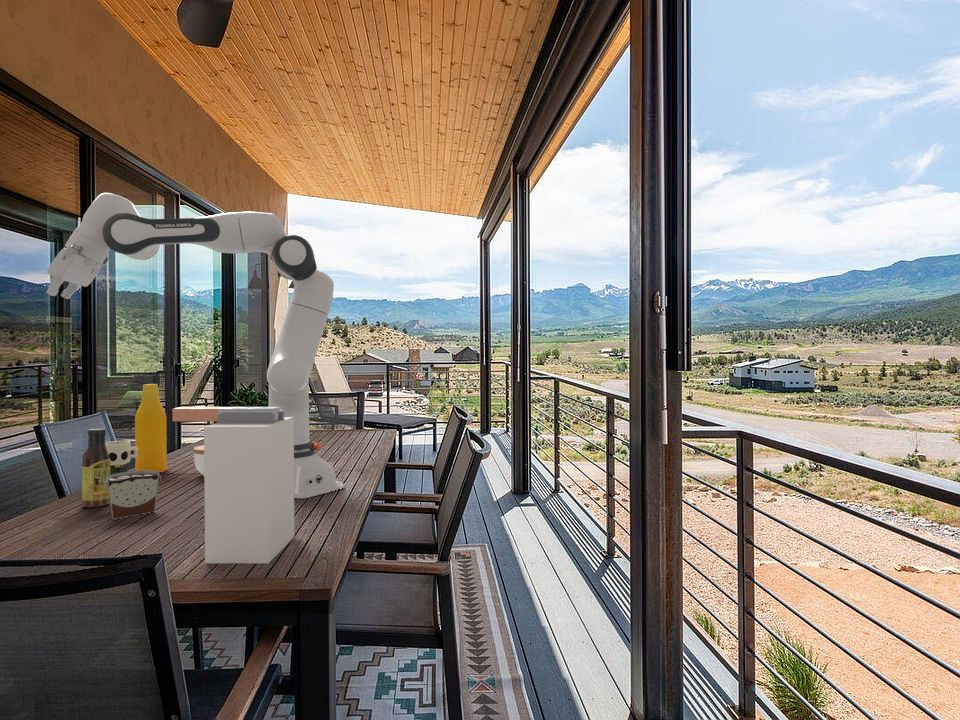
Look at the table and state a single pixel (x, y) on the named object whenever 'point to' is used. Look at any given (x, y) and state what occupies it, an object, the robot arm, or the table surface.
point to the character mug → (120, 455)
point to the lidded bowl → (199, 458)
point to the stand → (248, 487)
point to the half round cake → (132, 492)
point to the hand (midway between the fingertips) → (57, 296)
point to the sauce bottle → (95, 470)
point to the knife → (219, 412)
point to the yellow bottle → (150, 432)
